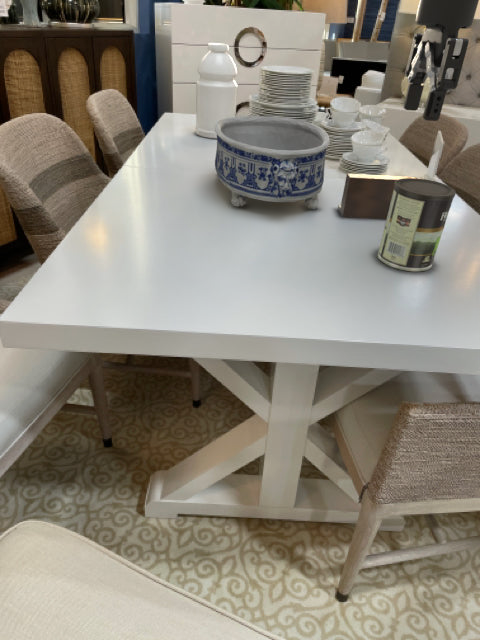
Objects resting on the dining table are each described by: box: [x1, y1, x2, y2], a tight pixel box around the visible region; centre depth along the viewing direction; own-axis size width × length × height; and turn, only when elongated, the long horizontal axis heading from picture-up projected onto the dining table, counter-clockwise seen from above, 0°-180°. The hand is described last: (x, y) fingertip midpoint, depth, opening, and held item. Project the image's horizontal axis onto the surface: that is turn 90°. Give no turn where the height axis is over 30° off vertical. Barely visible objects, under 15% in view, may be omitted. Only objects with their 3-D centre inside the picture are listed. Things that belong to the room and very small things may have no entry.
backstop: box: [337, 173, 418, 220], centre depth 107 cm, size 16×5×9 cm, turn 93°
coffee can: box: [377, 177, 457, 272], centre depth 86 cm, size 10×10×14 cm
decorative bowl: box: [214, 115, 331, 210], centre depth 115 cm, size 42×27×15 cm, turn 8°
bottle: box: [195, 42, 239, 140], centre depth 160 cm, size 14×14×28 cm
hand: (419, 114), depth 72 cm, fingers open, 8 cm apart
